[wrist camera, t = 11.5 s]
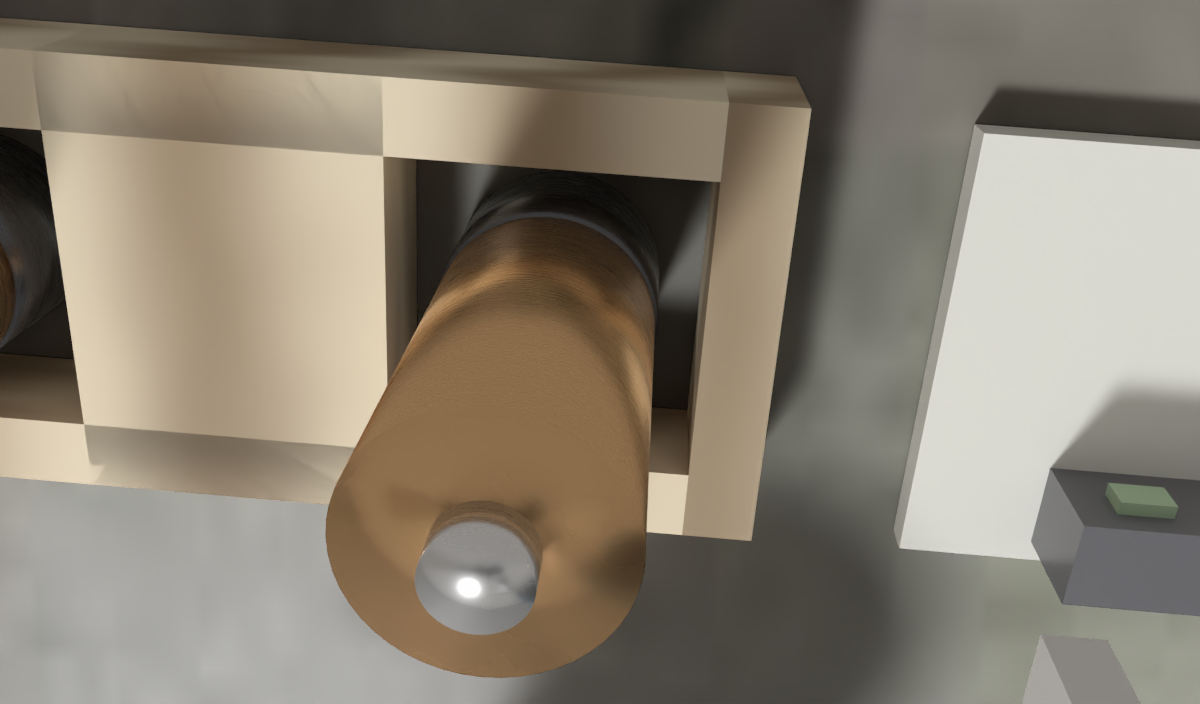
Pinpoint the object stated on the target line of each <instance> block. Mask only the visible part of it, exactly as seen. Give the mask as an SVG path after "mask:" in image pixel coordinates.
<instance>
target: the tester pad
mask: <svg viewBox="0 0 1200 704" xmlns="http://www.w3.org/2000/svg"><path fill="white" fill-rule="evenodd" d="M893 530H894V533H895V536H896V540H897V543H898V546H899V548H902V549H914V550H926V551H937V552H949V553H961V554H972V555H984V556H996V557H1007V558H1019V559H1031V560H1040V561H1041V563H1042V565H1043V567H1044V569H1045V571H1046V573H1047V575H1048V577H1049V579H1050V581H1051V583H1052V585H1053V587H1054V589H1055V591H1056V593H1057V595H1058V597H1059V599H1060V601H1061V603H1062V604H1065V605H1077V606H1088V607H1100V608H1111V609H1123V610H1134V611H1146V612H1157V613H1169V614H1180V615H1192V616H1200V141H1195V140H1181V139H1168V138H1155V137H1141V136H1128V135H1115V134H1101V133H1088V132H1074V131H1061V130H1048V129H1034V128H1021V127H1008V126H994V125H981V124H975V125H974V130H973V135H972V140H971V145H970V150H969V155H968V160H967V165H966V170H965V175H964V180H963V185H962V190H961V195H960V200H959V205H958V210H957V215H956V220H955V225H954V230H953V235H952V240H951V245H950V250H949V255H948V260H947V265H946V270H945V275H944V280H943V285H942V290H941V295H940V300H939V305H938V310H937V315H936V320H935V324H934V329H933V334H932V339H931V344H930V349H929V354H928V359H927V364H926V369H925V374H924V379H923V384H922V389H921V394H920V399H919V404H918V409H917V414H916V419H915V424H914V429H913V434H912V439H911V444H910V449H909V454H908V459H907V464H906V469H905V474H904V479H903V484H902V489H901V494H900V499H899V504H898V509H897V514H896V519H895V524H894V529H893Z"/></svg>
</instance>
